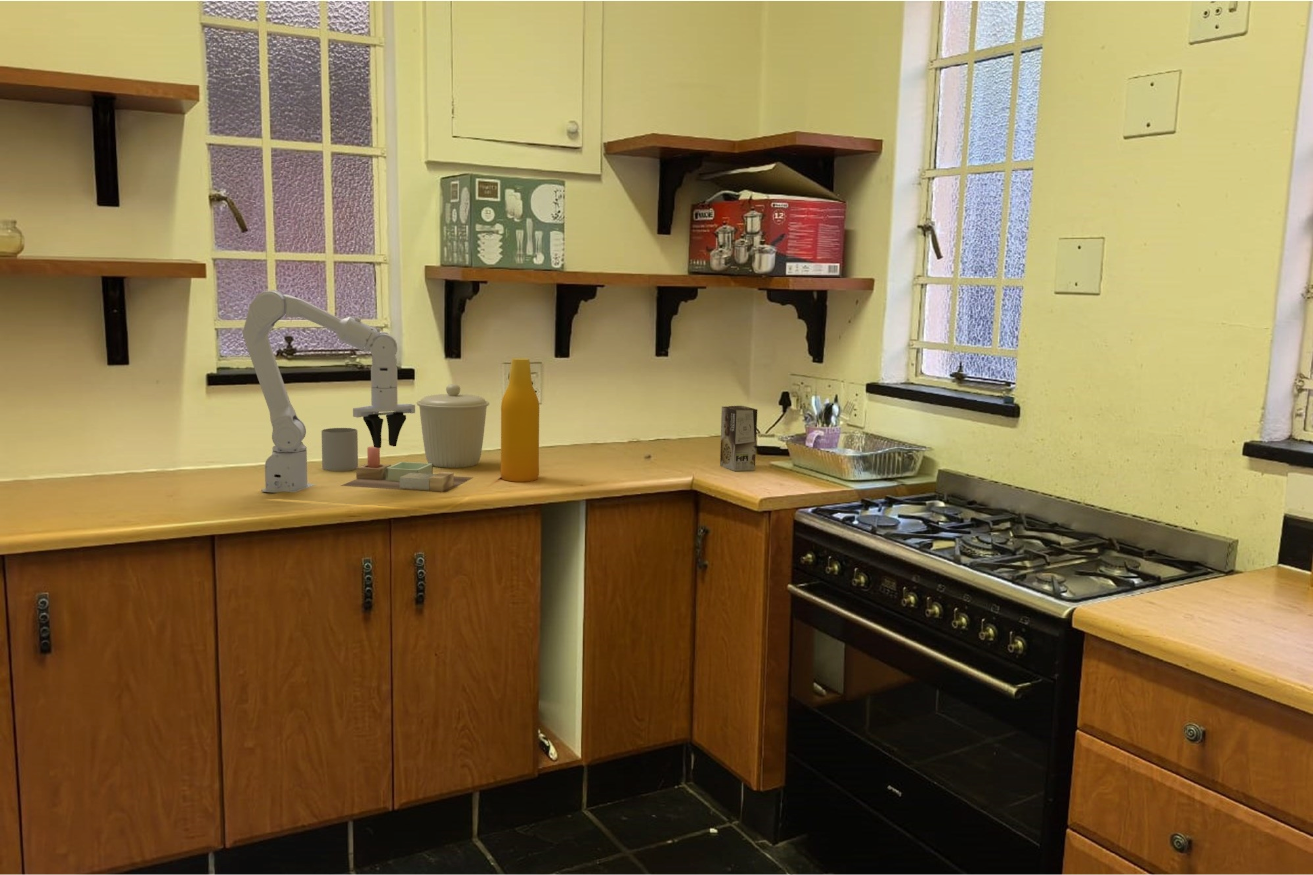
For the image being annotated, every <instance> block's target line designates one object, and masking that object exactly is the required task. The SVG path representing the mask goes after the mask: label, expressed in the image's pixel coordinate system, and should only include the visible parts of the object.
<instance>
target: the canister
mask: <svg viewBox="0 0 1313 875" xmlns="http://www.w3.org/2000/svg"><path fill="white" fill-rule="evenodd" d="M445 391H446V393H443V394H442V393H441V394H440V393H439V394H431V395H427V396H424V397H422V398H421V399H420V400H417V402H416V405H417V406H418V407H419V415H420V416H419V417H420V423H421V424H420V425H421V432H422V443H423V447H424V454H425V459H426V461H427V463H431V464H433V467H437V468H443V469H445V468H446V469H459V468H460V469H461V468H462V469H463V468H469V467H475V466H477V464H478V463H479V462H480V460H481V457H482V451H483V443H484V437H485V436H484V435H485V425H486V418H487V417H486V416H487V408H488V406H489V405H490V402H489V401H488V400H485V398H483V397H481V396H479V395H473V394H463V393H461V394H460V392H461V387H460V385H458V384H457V383H450V384H448V385H446V387H445Z"/></svg>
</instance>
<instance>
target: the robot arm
mask: <svg viewBox="0 0 1313 875" xmlns="http://www.w3.org/2000/svg"><path fill="white" fill-rule="evenodd" d="M247 311H248V312H247V314H246V315H247V316H246V319H245V323H244V326H243V330H242V336H243V337H242V338H243V339H244V342H245V346H246V348H247V352H248V355H249V358H250V360H251V362H252V365H253V369H254V371H255V374H256V377H257V380H258V382H259V385H260V389H261V391H262V394H263V397H264V400H265V403H266V406H267V408H268V412H269V417H270V422H271V423H270V424H271V427H272V432H271V440H272V443H273V446H272V447H271V448H272V451H271V452H272V453H271V455H270V456H269V457H267V459H266V460H265V463H264V478H265V480H264V481H265V484H264V486H265V488H263V489H261V492H263V493H274V494H275V493H276V494H277V493H280V492H282V493H297V492H299V491H302V490H305V489H308V488H310V487H312V486H316V483H308V456H307V455H308V451H307V446H306V445H305V444H304V443H303V440H304V439H305V438H306V433H307V429H306V426H305V424H304V422H303V421H302V420H301V419H300V418H299V417H298V415H297V413H296V412H297V411H296V410H295V408H294V406H293V405H292V403H291V399H290V397H289V395H288V390H287V389H286V386H285V382H284V379H283V377H282V373H281V371H280V368H279V365H278V362H277V360H276V356H275V353H274V351H273V348H272V345H271V342H270V340H269V334H270V333H271V331H272V330H273V328H274V327H275V324H277V322H279V321H280V320H281V319H282V318H283V317H284V316H285V318H303V319H305V320H307V321H310V322H312V323H313V324H317V325H319V326H321V327H323V328H326V329H328V330H330V331H333V332H335V334H336V336H337V339H338V340H339V341H341V342H343V343H345V344H347V345H350V346H351V347H354V348H355V349H357V350H360V351H363V352H364V353H366V352H370V354H371V367H370V385H371V386H370V388H371V389H370V391H371V392H370V394H371V397H370V398H371V399H370V400H371V405H369V406H361V407H360V406H359V407H352V417H354V418H357V419H358V418H363V419H362V420H363V421H364V423H365V425H366V426H367V428H368V431H369V434H370V436H371V440H372V444H373V447H376V448H380V449H381V448H382V430H383V424H384V418H382V417H380V416H385V417H386V423H387V430H388V446H391V447H397V445H398V439H399V435H400V432H401V430H402V428H403V426H404V424H405V422H406V420H407V415H406V414H416V404H413V403H405V404H400V403H398V366H397V356H396V355H397V353H398V343H397V340H396V339H395V337H394V336H393V335H391V334H390V333H388V332H381V331H382V329H381V328H380V327H376V328H375V327H372V326H370V325H368V324H367V323H364V322H363V321H362V319H361V318H360V317H358V316H355V317H352V316H347V317H345V318H339V317H338V316H336V315H334V314H332V313H330V312H329V311H326V310H324V309H322V308H320V307H319V306H316V305H314V304H312V303H310V302H308V301H306V300H304V299H302V298H299V297H295V296H294V295H289V294H284V293H283V292H281V291H279V290H275V289H272V290H265V291H262V292H260V293H259V294H257V295H256V296H255V298H254V299H253V300H252V302H251V303H250V304H249V305H248V310H247Z"/></svg>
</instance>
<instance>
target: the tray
mask: <svg viewBox="0 0 1313 875" xmlns="http://www.w3.org/2000/svg"><path fill="white" fill-rule="evenodd" d="M385 470H386V480H387V481H400V477H402V476H404V475H406V474H409V473H422V474H434V471H433V470H434V466H433V464H431V463H428V462H413V461H412V462H411V461H399V462H397V463H395V464H393V465H391V466H390V467H387V468H385Z"/></svg>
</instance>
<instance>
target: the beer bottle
mask: <svg viewBox="0 0 1313 875" xmlns="http://www.w3.org/2000/svg"><path fill="white" fill-rule="evenodd" d="M530 362H531V361H530V358H522V357H520V358H516V357H515V358H511V363H510V372H509V380H508V385H507V388H506V390H505V391H504V394H503V396H502V399H501V403H500V413H501V414H500V478H501V479H502V480H503V481H507V482H513V483H514V482H515V483H525V482H526V483H528V482H534V481H536V480H538V479H539V476H540V462H539V461H540V402H539V398H538V395H537V393H536V391H535V389H534V387H533V382H532V372H531V363H530Z"/></svg>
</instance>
